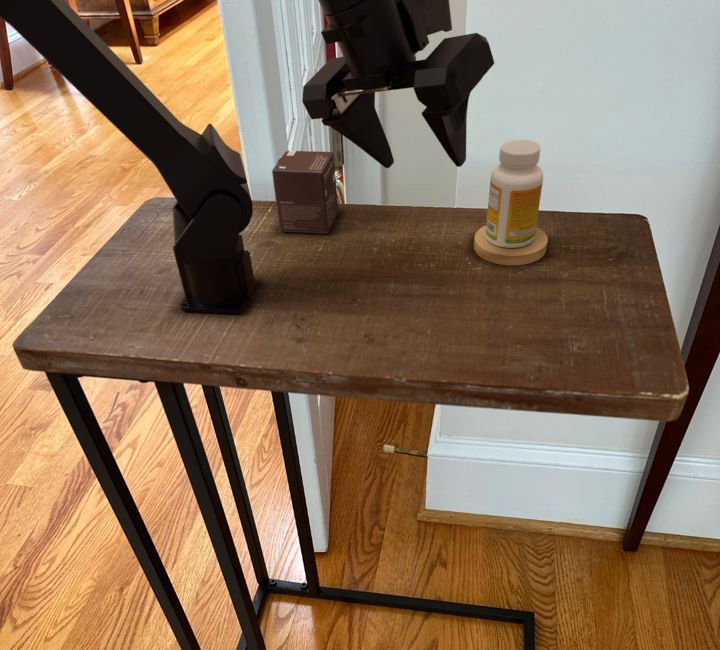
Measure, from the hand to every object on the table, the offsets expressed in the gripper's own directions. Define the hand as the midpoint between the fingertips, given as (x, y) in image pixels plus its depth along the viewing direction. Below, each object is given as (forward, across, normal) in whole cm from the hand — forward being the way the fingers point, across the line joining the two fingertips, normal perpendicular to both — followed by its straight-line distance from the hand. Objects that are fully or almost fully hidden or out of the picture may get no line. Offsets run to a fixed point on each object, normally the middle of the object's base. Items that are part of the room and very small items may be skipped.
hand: (424, 164), depth 67 cm
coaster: (+14, -2, -5) cm, 15 cm away
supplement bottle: (+13, -2, -5) cm, 14 cm away
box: (+6, +20, +2) cm, 21 cm away
